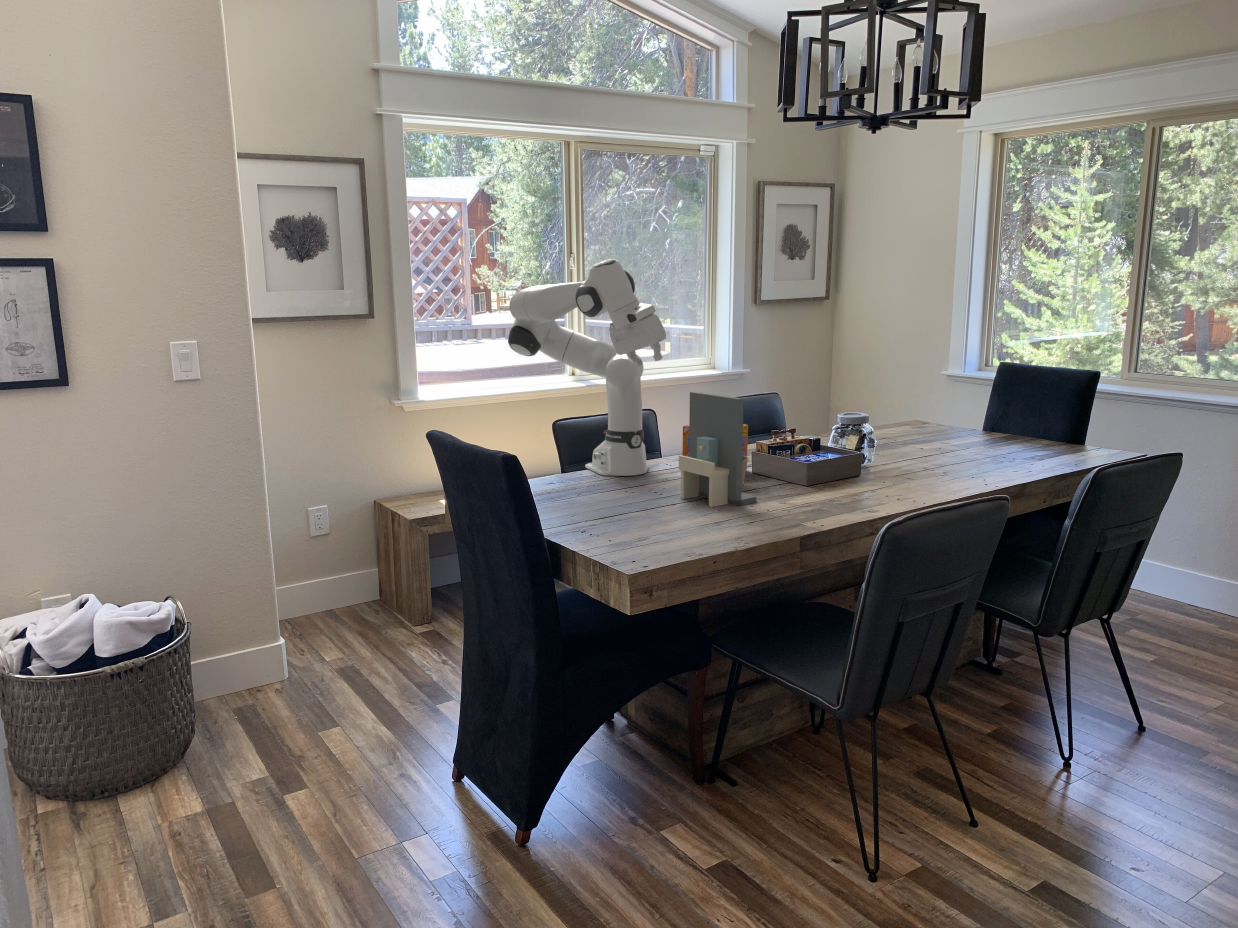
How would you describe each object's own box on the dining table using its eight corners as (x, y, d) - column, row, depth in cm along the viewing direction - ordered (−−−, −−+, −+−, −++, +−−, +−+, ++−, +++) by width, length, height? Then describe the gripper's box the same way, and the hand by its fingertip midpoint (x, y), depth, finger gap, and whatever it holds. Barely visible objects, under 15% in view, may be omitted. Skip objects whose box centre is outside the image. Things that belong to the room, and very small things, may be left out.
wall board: (671, 496, 264) (672, 393, 258) (708, 489, 273) (710, 389, 267) (718, 509, 248) (720, 401, 242) (756, 501, 257) (759, 396, 251)
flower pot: (724, 490, 271) (724, 461, 270) (712, 483, 280) (713, 455, 279) (753, 487, 274) (754, 459, 272) (741, 481, 283) (741, 454, 281)
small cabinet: (694, 465, 258) (694, 438, 256) (705, 463, 260) (706, 436, 259) (706, 468, 254) (706, 440, 252) (717, 466, 256) (718, 438, 255)
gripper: (599, 328, 252) (620, 373, 254) (640, 312, 234) (662, 361, 237) (615, 320, 255) (636, 364, 257) (657, 303, 238) (679, 351, 240)
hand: (649, 363), depth 247 cm, fingers open, 8 cm apart
